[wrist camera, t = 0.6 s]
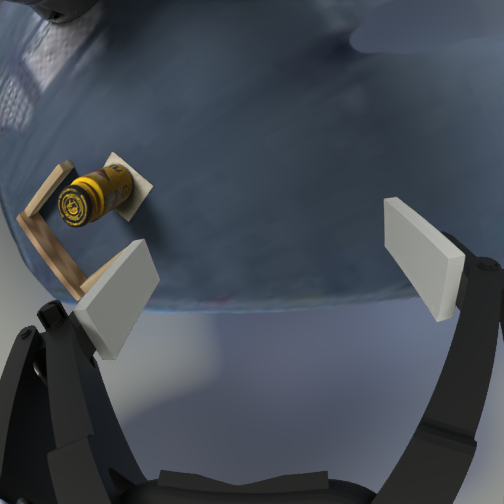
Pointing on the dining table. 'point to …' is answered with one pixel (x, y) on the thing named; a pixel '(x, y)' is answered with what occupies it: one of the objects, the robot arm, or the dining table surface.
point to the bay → (49, 242)
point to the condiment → (103, 193)
